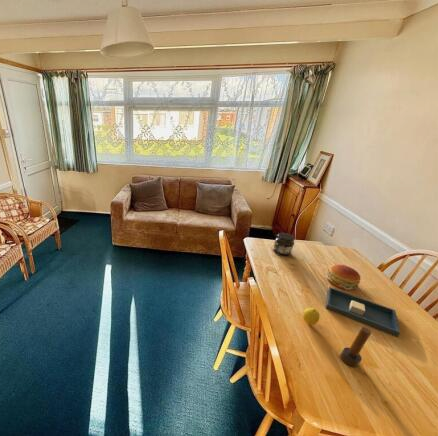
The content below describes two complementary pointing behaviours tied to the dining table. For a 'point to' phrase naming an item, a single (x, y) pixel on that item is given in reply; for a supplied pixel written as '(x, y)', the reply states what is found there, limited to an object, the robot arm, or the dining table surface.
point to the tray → (372, 316)
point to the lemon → (311, 316)
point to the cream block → (357, 307)
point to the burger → (343, 277)
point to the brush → (355, 348)
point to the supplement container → (284, 244)
